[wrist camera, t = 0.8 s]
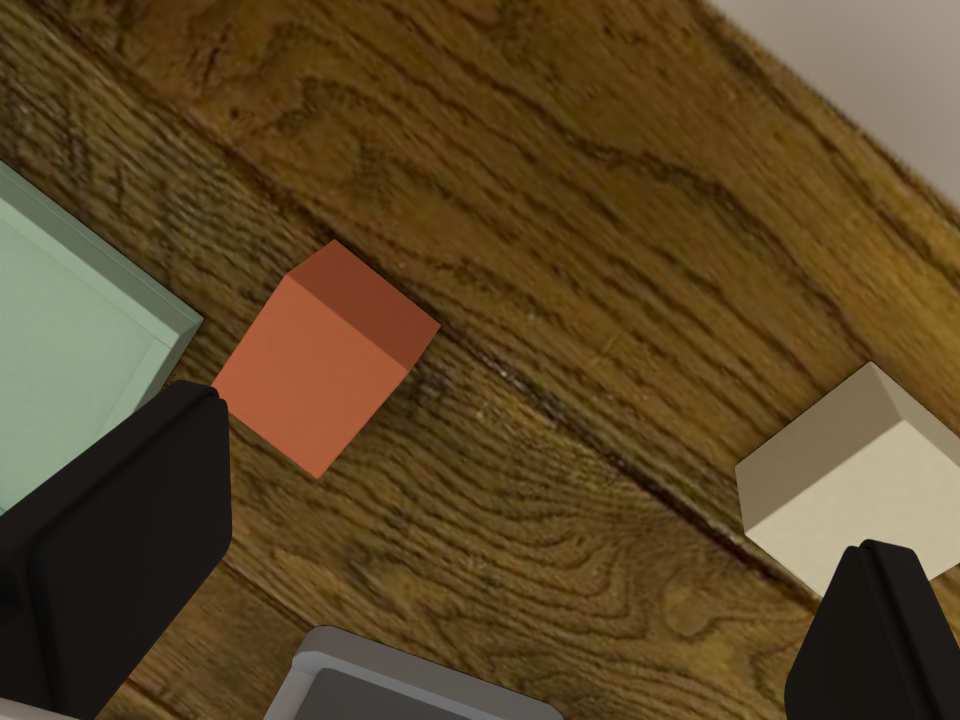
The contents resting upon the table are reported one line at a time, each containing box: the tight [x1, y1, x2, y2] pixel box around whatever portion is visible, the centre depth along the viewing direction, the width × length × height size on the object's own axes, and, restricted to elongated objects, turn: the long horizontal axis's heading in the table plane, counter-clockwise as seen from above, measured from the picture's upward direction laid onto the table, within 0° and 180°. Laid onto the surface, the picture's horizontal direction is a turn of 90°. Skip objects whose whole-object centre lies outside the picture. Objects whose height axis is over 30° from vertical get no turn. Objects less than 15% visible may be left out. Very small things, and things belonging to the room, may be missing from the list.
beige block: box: [735, 362, 960, 598], centre depth 25 cm, size 6×5×4 cm
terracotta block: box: [211, 239, 441, 479], centre depth 27 cm, size 6×5×4 cm
